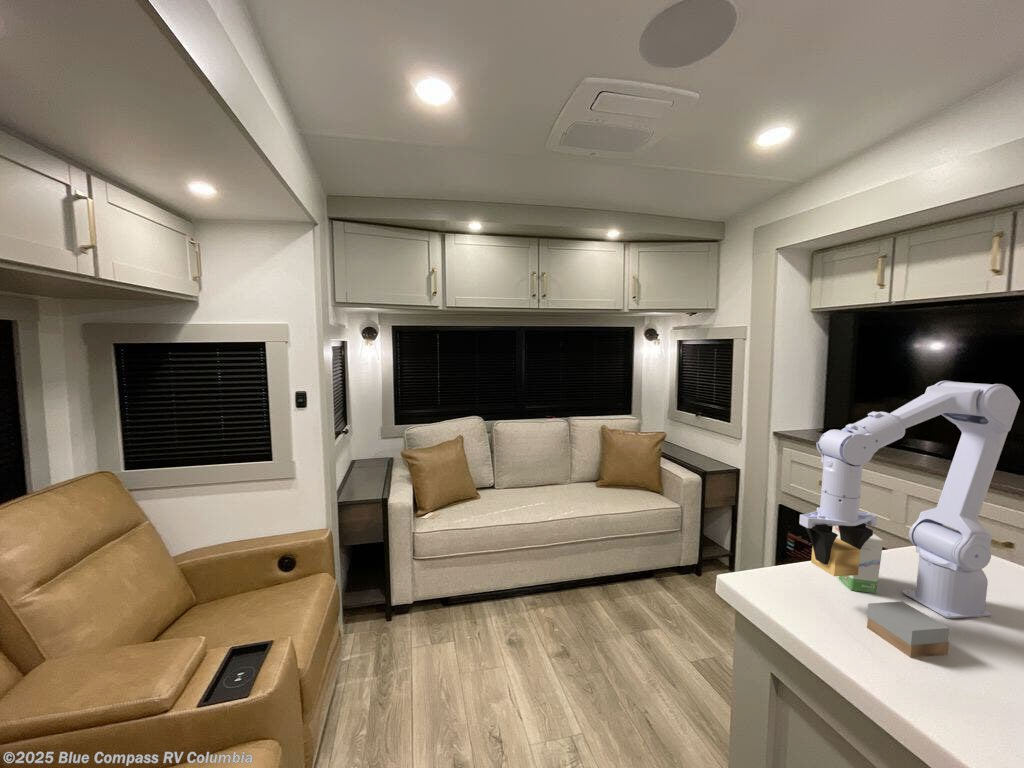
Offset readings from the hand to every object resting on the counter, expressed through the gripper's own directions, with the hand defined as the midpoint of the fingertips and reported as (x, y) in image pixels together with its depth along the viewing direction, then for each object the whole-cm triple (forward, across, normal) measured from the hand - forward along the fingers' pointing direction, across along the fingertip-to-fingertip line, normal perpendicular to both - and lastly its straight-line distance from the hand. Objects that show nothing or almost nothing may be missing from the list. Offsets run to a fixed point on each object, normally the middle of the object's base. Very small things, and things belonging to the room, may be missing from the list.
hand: (834, 561), depth 76 cm
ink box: (+9, -12, -7) cm, 17 cm away
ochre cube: (+2, 0, 0) cm, 2 cm away
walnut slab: (+9, -4, +10) cm, 14 cm away
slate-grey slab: (+7, -4, +10) cm, 13 cm away
